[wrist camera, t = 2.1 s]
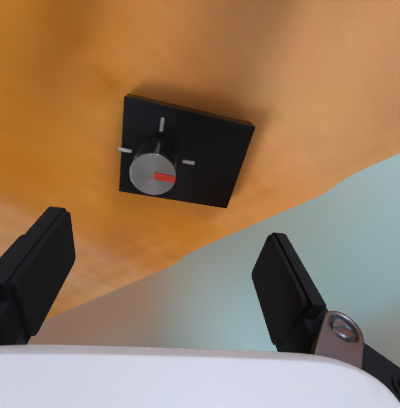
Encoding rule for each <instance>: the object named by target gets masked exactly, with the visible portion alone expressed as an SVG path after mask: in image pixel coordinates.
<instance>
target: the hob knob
mask: <svg viewBox="0 0 400 408" xmlns="http://www.w3.org/2000/svg"><path fill="white" fill-rule="evenodd" d="M176 166H177V154H176V150H175V148H174V146H173V145H172V144H171V143H170V142H169V141H167V140H166V139H163V138H160V137H152V138H149V139H146V140H145V141H144V142H142V143H141V145H140V147H139V149H138V151H137V153H136V155H135V158H134V160H133V162H132V164H131V167H130V178H131V181H132V183H133V184H134V186H135V187H136V188H137V189H139V190H140V191H142V192H144V193H146V194H150V195H159V194H163V193H165V192H167V191H168V190H170V189H171V188H172V187H173V185H174V183H175V180H176Z"/></svg>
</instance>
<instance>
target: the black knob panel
mask: <svg viewBox="0 0 400 408" xmlns="http://www.w3.org/2000/svg"><path fill="white" fill-rule="evenodd" d="M254 130H255V126H254V125H253V124H252V123H251V122H247V121H243V120H238V119H234V118H230V117H226V116H221V115H217V114H213V113H209V112H204V111H200V110H196V109H192V108H187V107H183V106H179V105H175V104H170V103H166V102H162V101H158V100H153V99H149V98H145V97H141V96H136V95H132V94H127V95H126V96H125V97H124V113H123V131H122V148H121V147H118V151H121V165H120V183H119V191H122V192H128V193H134V194H140V195H146V196H153V197H159V198H165V199H171V200H178V201H184V202H190V203H196V204H203V205H209V206H215V207H221V208H227V206H228V203H229V200H230V198H231V195H232V192H233V189H234V186H235V183H236V181H237V178H238V175H239V172H240V169H241V166H242V164H243V161H244V158H245V155H246V152H247V149H248V147H249V144H250V141H251V138H252V135H253V132H254ZM152 137H160V138H163V139H166V140H167V141H169V142H170V143H171V144H172V145H173V146H174V148H175V150H176V154H177V166H176V180H175V183H174V185H173V187H172V188H171V189H170V190H168V191H167V192H165V193H163V194H159V195H150V194H146V193H144V192H142V191H140V190H139V189H137V188H136V187H135V186H134V184H133V183H132V181H131V178H130V167H131V164H132V162H133V160H134V158H135V155H136V153H137V151H138V149H139V147H140V145H141V143H142V142H144V141H145V140H146V139H149V138H152Z"/></svg>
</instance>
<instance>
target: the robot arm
mask: <svg viewBox="0 0 400 408" xmlns="http://www.w3.org/2000/svg"><path fill="white" fill-rule="evenodd" d="M74 262H75V248H74V240H73V232H72V224H71V216H70V212H66V209H65V208H59V207H49V208H48V209H47V210H46V211H45V212H44V213H43V214H42V215H41V217H40V218H39V219H38V220H37V221H36V222H35V223H34V224H33V226H32V227H31V228H30V229H29V230H28V231H27V232H26V234H25V235H21V236H20V237H19V238H18V239H17V240H16V241H15V242H14V243H13V244H12V245H11V246H10V248H9V249H8V250H7V251H6V252H5V253H4V254H3V255H2V256H1V258H0V408H400V368H399V367H398V366H397V365H395V364H393V363H392V362H391V361H389V360H388V359H387V358H385V357H384V356H382V355H381V354H379V353H378V352H377V351H375V350H374V349H372V348H371V347H370V346H368V345H367V344H365V343H364V338H363V334H362V332H361V330H360V328H359V327H358V326H357V324H356V323H355V322H354V321H353V320H352V319H350V318H349V317H347V316H346V315H345V314H343V313H341V312H337V311H328V310H327V308H326V304H325V302H324V300H323V299H322V297H321V295H320V293H319V292H318V290H317V288H316V286H315V285H314V283H313V281H312V279H311V278H310V276H309V274H308V272H307V271H306V269H305V267H304V266H303V264H302V262H301V260H300V259H299V257H298V255H297V253H296V252H295V250H294V248H293V246H292V244H291V243H290V241H289V240H288V238H287V236H286V235H285V234H283V233H272V234H271V235H269V236H268V237H267V239H266V242H265V244H264V246H263V248H262V251H261V253H260V255H259V257H258V259H257V262H256V264H255V266H254V269H253V271H252V280H253V283H254V286H255V289H256V293H257V296H258V299H259V302H260V306H261V309H262V312H263V315H264V319H265V322H266V325H267V328H268V331H269V335H270V338H271V341H272V343H273V344H274V345H276V348H277V351H278V352H268V351H244V350H217V349H216V350H215V349H187V348H156V347H122V346H121V347H120V346H84V345H27V343H28V341H29V339H30V338H31V336H35V335H36V334H37V333H38V331H39V329H40V327H41V325H42V323H43V322H44V320H45V318H46V316H47V314H48V312H49V310H50V308H51V306H52V304H53V302H54V301H55V299H56V297H57V295H58V293H59V291H60V289H61V287H62V285H63V283H64V281H65V279H66V278H67V276H68V274H69V272H70V270H71V268H72V266H73V264H74Z"/></svg>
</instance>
